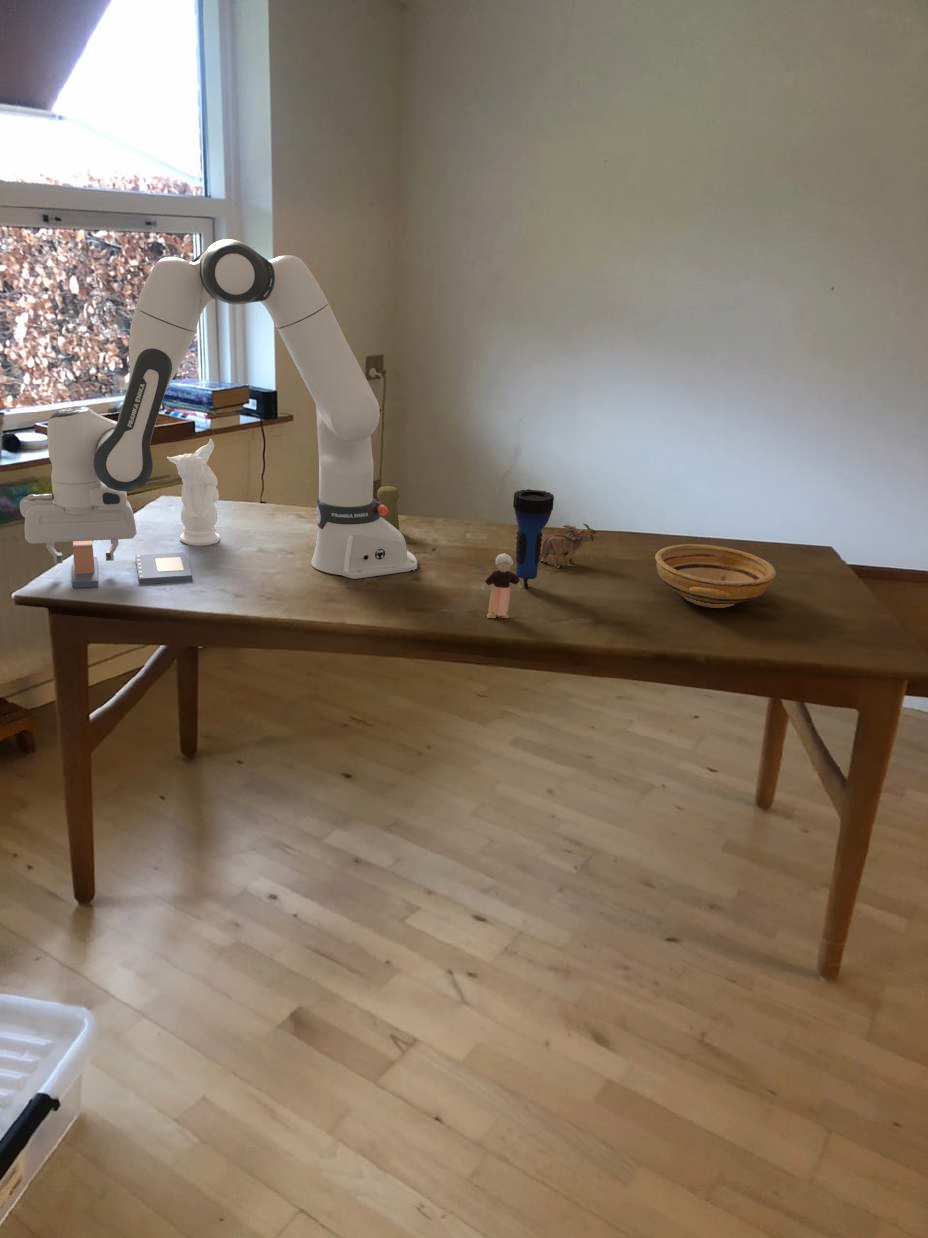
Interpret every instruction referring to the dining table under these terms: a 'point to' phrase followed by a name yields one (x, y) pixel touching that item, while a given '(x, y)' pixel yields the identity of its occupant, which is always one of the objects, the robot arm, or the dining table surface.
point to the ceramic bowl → (714, 573)
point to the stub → (84, 565)
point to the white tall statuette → (198, 497)
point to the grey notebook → (163, 568)
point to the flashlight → (530, 529)
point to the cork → (389, 504)
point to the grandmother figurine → (501, 587)
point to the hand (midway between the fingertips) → (84, 561)
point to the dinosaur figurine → (566, 544)
